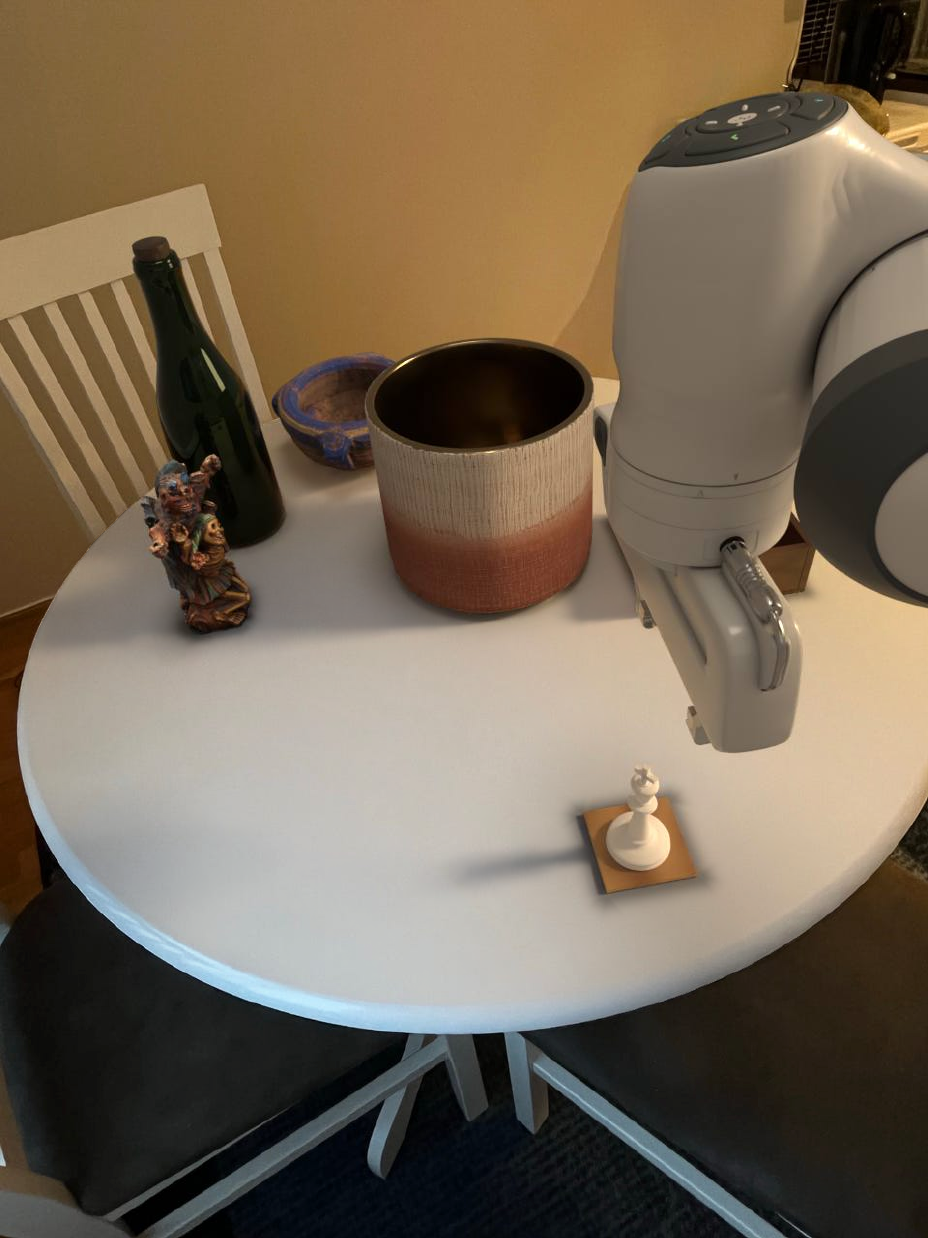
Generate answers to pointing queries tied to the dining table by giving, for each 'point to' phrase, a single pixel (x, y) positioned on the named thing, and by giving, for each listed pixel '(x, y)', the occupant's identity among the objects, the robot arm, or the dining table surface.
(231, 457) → the green wine bottle
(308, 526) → the dining table surface
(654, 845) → the chess piece
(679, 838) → the coaster
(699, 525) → the robot arm
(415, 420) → the planter
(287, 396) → the bowl
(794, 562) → the crate
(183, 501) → the figurine
